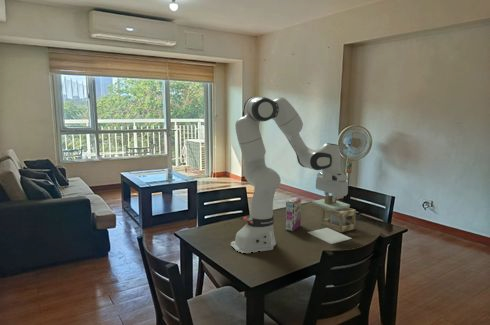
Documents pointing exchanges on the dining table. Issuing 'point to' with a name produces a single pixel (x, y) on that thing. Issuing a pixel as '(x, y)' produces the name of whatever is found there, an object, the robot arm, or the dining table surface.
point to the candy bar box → (293, 214)
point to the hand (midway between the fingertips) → (330, 201)
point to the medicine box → (336, 220)
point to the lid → (330, 203)
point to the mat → (329, 235)
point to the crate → (339, 228)
